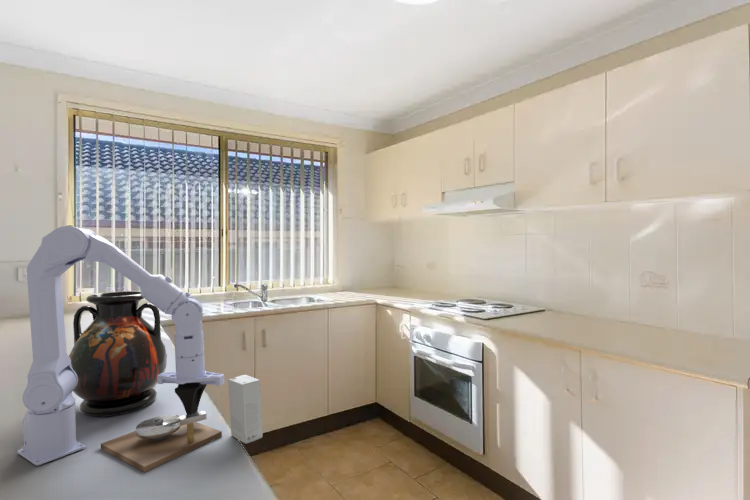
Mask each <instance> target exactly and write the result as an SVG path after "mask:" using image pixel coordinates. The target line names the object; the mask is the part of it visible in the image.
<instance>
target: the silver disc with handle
mask: <svg viewBox="0 0 750 500" xmlns="http://www.w3.org/2000/svg"><path fill="white" fill-rule="evenodd" d="M179 416H180V417H177V416H176V415H167V414H166V415H159V416H154V417H151V418H148V419H146V420H143V421H141V422H140V423H138V424H137V425H136V428H135V431H136V436H137V437H139V438H143V439H153V438H159V437H164V436H167V435H170V434H172V433H174V432H176V431H177V430H178V429H179V428H180V427H181V426H182V425H186V424H189V423H194V422H197V423H199V422H201V421H204V420H207V413H206V411H205V410H201V411H197V412H196V413H192V414H188V415H187V414H185V415H179Z"/></svg>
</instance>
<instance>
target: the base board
mask: <svg viewBox="0 0 750 500" xmlns="http://www.w3.org/2000/svg"><path fill="white" fill-rule="evenodd" d="M175 416H177V417H180V416H181V415H178V414H175ZM222 432H223V431H221V430H219V429H217V428H214V427H211V426H208V425H205V424H203V423H199V422H194V423H189V424H186V425H182V426H181V427H180V428H179V429H178V430H177V431H176V432H174V433H172V434H170V435H167V436H164V437H159V438H153V439H143V438H139V437H137V436H136V430H134V431H130V432H128V433H126V434H123V435H120V436H117V437H115V438H112V439H110V440H107V441H105V442H102V443H100V450H102V451H104V452H106V453H108V454H110V455H111V456H114V457H115V458H117V459H119V460H120V461H123V462H125V463H127V464H129V465H131V466H132V467H134V468H136V469H138V470H140V471H141V472H144V473H146V472H148V471H150V470H153V469H155V468H156V467H158V466H161V465H163V464H165V463H167V462H169V461H171V460H174V459H176V458H179V457H180V456H182V455H184V454H185V455H186V454H187V453H189V452H190V451H194V450H195V449H197V448H200V447H201V446H204V445H206V444H208V443H210V442H212V441H215V440H217V439H218V438H220V437H222V435H223V433H222Z"/></svg>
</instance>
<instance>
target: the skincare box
mask: <svg viewBox="0 0 750 500" xmlns="http://www.w3.org/2000/svg"><path fill="white" fill-rule="evenodd" d="M227 382H228V398H229V399H228V400H229V402H228V403H229V417H230V419H229V420H230V433H231V434H230V435H231V437H234V438H235V439H237V440H239V441H240V442H242V443H243V444H249V443H252V442H255V441H257V440H260V439H262V438H263V434H264V433H263V418H262V417H263V416H262V413H263V412H262V396H261V395H262V394H261V380H260V379H258V378H255V377H253V376H250V375H247V374H243V375H242V374H241V375H237V376H235V377H231V378H229V379H228V381H227Z"/></svg>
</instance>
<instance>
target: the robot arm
mask: <svg viewBox="0 0 750 500" xmlns="http://www.w3.org/2000/svg"><path fill="white" fill-rule="evenodd" d="M83 260H84V261H91V262H97V263H104V264H105V265H107V266H109V267H110V268H111V269H113V270H114V271H116V272H118V273H119V274H120V275H122V276H124V277H125V278H126V279H128V280H130V281H131V282H132V283H133V284H135V285H137V286H138V287H139V289H140V292H141V296H142V297H143V298H144V299H145V300H146V301H147V302H148V303H152V304H153V305H154V306H156V307H157V308H158V310H159V311H161V312H163V313H164V314H165V315H170V316H171V317H170V318H171V321H172V323H173V324H174V327H175V328H174V329H175V334H174V357H175V359H174V360H175V371H172V372H171V371H170V372H166V371H165V372H163V373H161V374H159V375H157V377H158V383H157V385H163V384H176V385H177V387H175V388H174V393H175V395H177V397H178V398H179V399H180V402H181V403H182V406H183V408H184V411H185V413H186V414H185V415H188V414H192V413H196V412H199V411H198V409H199V406H200V402H201V399H202V396H203V393H204V391H205V389H206V387H207V386H208V385H215V387H221V386H222V385H223V384H225V374H224V373H217V372H212V371H206V369H205V368H206V367H205V366H206V365H205V362H206V361H205V339H204V337H205V336H204V331H203V327H204V325H203V322H202V321H203V317H204V309H203V308H204V307H203V305H202V303H201V302H200V301H199V299H198V298H197V297H194V296H192V295H191V294H192V293H191V292H190V291H186V292H185V291H184V290H183V289H182V288H180V287H179V286H178V285H176V284H174V282H173V280H174V279H173V278H172V277H170V276H169V275H167V276H166V277H165V276H164V275H163V274H151V273H149V271H147V270H146V269H144V267H142V266H141V265H140V264H139V263H138V262H136V261H135V260H134V259H133V258H132V257H130V256H129V255H127V254H126V252H124V251H122V250H121V249H120V248H119V247H117V246H116V245H115V244H114V243H112V242H110V241H109V240H108V239H106V238H104V237H103V236H101V235H97V234H96V232H94V230H91V229H89V228H87V227H76V226H72V225H63V226H59V227H57V228H56V229H53V230H51V231H50V232H49V233H48V234H46V235H45V236H43V237H42V238H41V243H40V246H39V247H38V249H37V250H36V251H35V253H34V254H33V256H32V258H31V260H30V261H28V264H27V266H26V279H27V280H26V281H27V295H28V305H29V306H28V307H29V323H30V333H31V334H30V337H31V350H32V362H31V366H30V368H29V370H28V372H27V384H26V387H25V388H24V391H23V393H22V403H23V404H24V406H25V407H26V409H27V411H26V412H25V414H24V416H23V420H22V424H23V425H22V427H23V428H22V430H23V448H21V449H18V450H17V454H19V455H20V456H21V457H23V458H24V459H26V460H27V461H29V463H31V464H33V465H34V466H36V467H38V466H41V465H44V464H46V463H48V462H51V461H54V460H55V461H56V460H57V459H60V458H62V457H64V456H65V457H66V456H68V455H70V454H73V453H75V452H79V451H81V450H85V448H86V445H85V444H83V443H81V442H80V441H78V440H77V428H76V427H77V422H76V419H77V418H76V398H75V397H74V395H73V393H72V392H73V390H74V389H75V388H76V386H77V383H78V377H77V374H76V372H75V371H74V370H73V368H72V366H71V359H70V358H69V355H68V353H67V339H66V327H65V326H66V325H65V312H64V311H65V310H64V299H63V298H64V297H63V296H64V295H63V286H62V285H63V284H62V275H63V274H64V273H65V272H67V271H68V270H69V269H70V268H71V267H73V266H74V265H75V264H77V263H79V262H81V261H83Z"/></svg>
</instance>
